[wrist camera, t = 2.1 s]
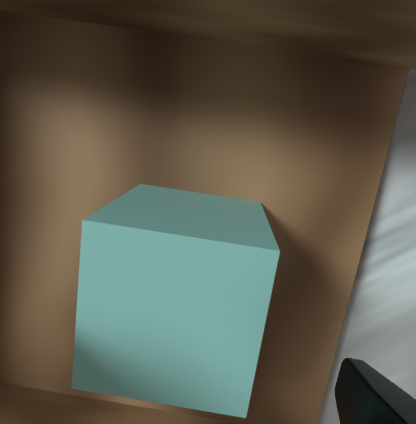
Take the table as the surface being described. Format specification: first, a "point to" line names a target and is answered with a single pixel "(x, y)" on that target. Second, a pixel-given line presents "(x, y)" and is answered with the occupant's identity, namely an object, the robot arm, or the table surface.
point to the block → (174, 298)
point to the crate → (191, 169)
